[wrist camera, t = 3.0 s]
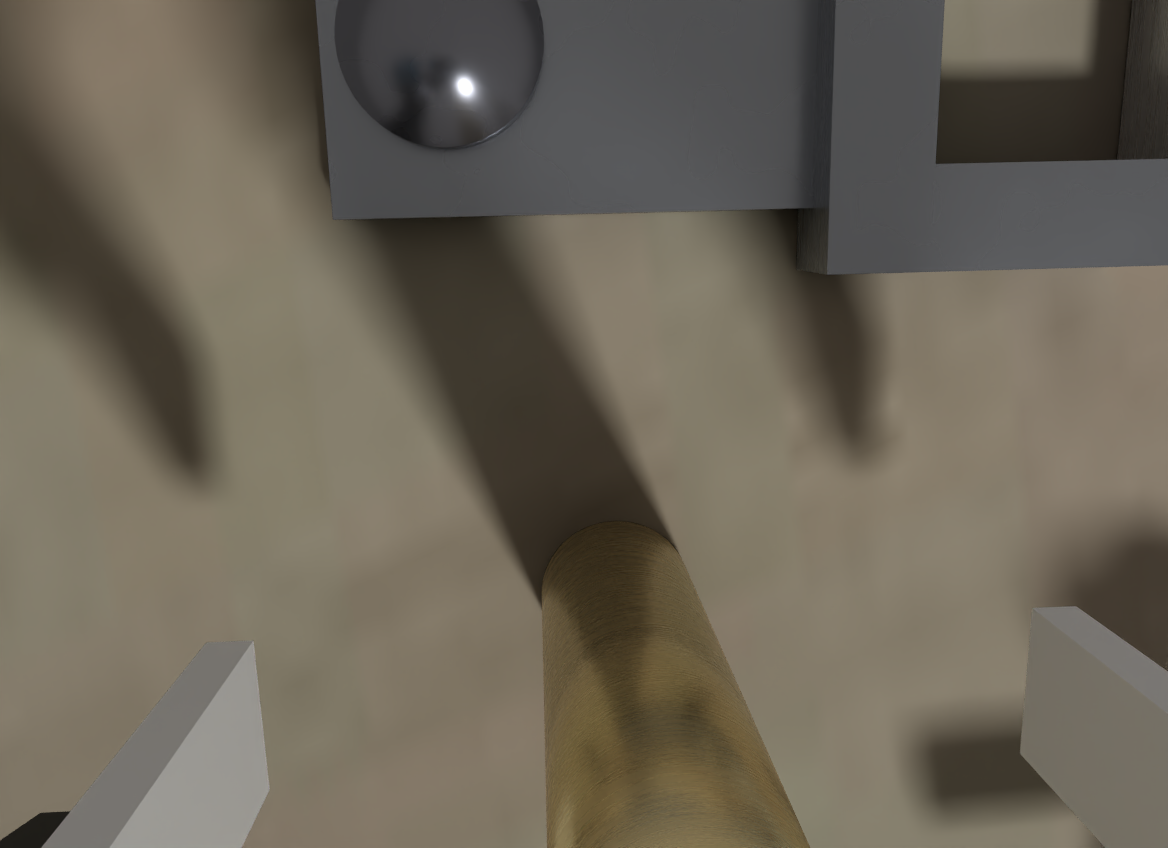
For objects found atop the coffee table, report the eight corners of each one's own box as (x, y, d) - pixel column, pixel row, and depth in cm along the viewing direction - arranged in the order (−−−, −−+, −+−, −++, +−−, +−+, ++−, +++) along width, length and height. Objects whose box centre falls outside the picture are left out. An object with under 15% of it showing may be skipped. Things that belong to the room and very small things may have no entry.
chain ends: (348, 281, 18) (318, 291, 16) (312, -192, 16) (270, -269, 14) (1607, 247, 19) (1767, 250, 17) (1699, -197, 18) (1895, -268, 15)
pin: (544, 662, 20) (565, 1578, 7) (539, 524, 20) (552, 1222, 6) (688, 656, 20) (1005, 1537, 7) (689, 518, 20) (1042, 1184, 6)
